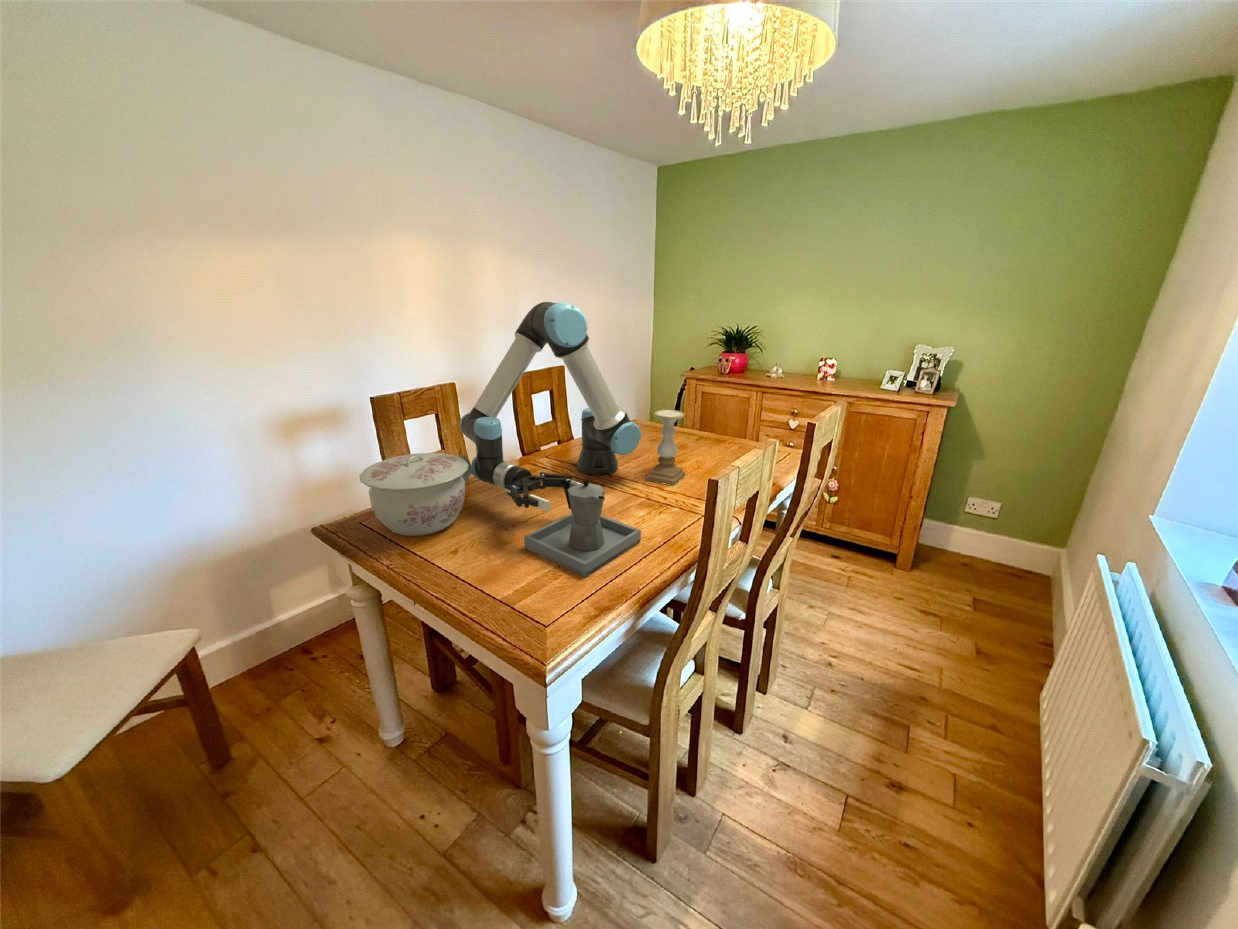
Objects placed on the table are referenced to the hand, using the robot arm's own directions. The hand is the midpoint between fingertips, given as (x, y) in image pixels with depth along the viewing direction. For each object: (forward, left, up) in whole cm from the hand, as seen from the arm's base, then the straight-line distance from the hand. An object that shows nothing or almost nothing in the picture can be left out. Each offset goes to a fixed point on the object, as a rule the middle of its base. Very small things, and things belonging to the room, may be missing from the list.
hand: (567, 497), depth 126 cm
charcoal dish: (0, +6, -12) cm, 13 cm away
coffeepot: (0, +6, -11) cm, 12 cm away
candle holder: (-54, -4, -12) cm, 56 cm away
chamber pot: (+20, -37, -12) cm, 44 cm away
